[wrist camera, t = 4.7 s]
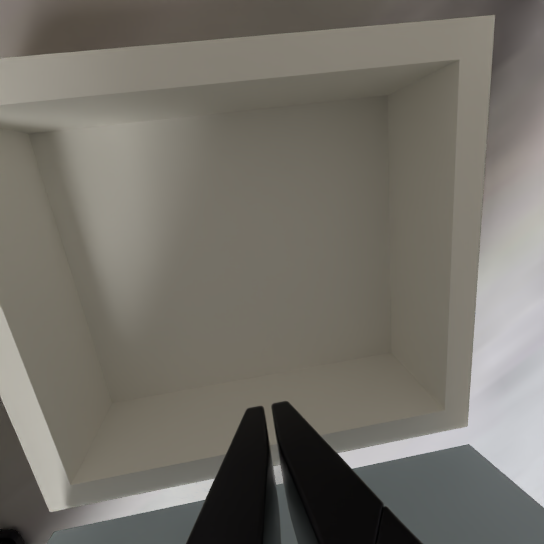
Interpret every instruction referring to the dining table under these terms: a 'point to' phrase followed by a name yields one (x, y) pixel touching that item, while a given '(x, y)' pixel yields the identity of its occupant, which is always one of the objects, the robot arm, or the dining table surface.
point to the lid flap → (394, 494)
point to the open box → (238, 246)
